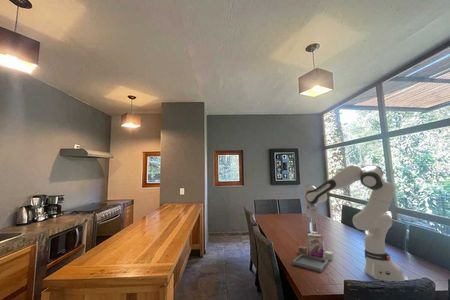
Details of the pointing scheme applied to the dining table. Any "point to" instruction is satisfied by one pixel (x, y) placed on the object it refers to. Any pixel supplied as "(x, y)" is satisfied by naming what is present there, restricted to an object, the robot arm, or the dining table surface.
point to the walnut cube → (302, 250)
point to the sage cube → (328, 255)
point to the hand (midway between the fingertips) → (311, 223)
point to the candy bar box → (315, 245)
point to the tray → (311, 262)
